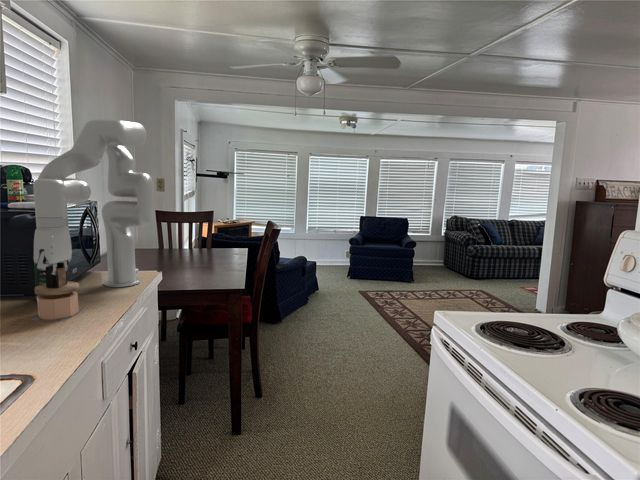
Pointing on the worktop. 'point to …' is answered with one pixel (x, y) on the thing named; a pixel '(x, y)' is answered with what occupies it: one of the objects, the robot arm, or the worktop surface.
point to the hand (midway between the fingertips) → (57, 285)
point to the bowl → (57, 306)
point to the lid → (62, 284)
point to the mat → (59, 319)
